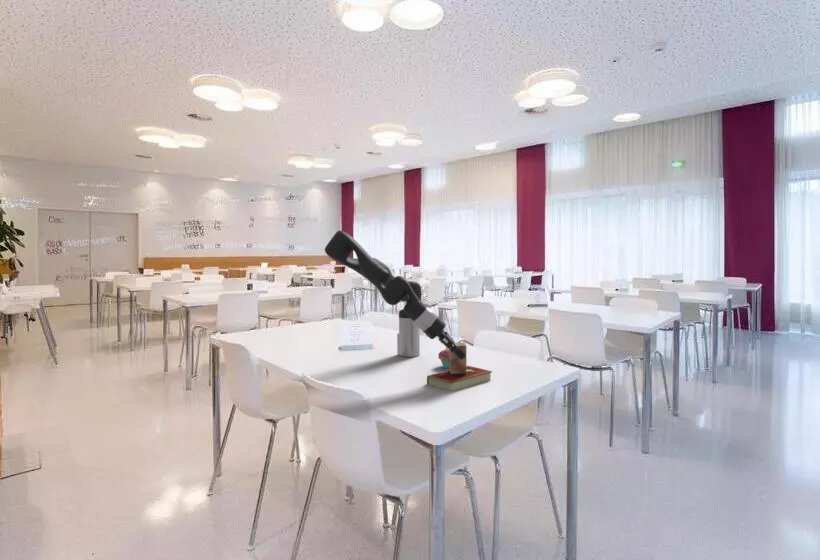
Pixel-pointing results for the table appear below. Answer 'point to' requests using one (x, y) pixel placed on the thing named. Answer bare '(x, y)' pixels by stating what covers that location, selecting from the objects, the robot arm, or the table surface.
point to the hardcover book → (459, 378)
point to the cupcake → (444, 357)
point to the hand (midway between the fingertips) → (462, 355)
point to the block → (457, 360)
